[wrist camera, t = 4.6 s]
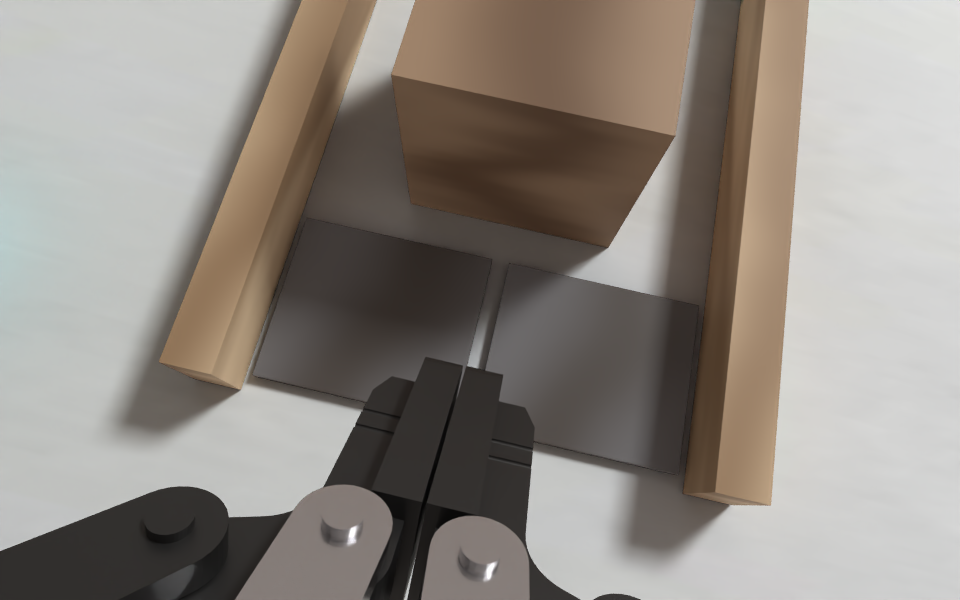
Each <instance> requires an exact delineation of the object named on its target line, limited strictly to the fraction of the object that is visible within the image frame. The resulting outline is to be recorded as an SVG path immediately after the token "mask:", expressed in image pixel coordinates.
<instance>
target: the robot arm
mask: <svg viewBox="0 0 960 600" xmlns="http://www.w3.org/2000/svg"><path fill="white" fill-rule="evenodd" d="M462 370H463V365H459V364H455V363H451V362H446V361H442V360H438V359H434V358H429V357H425V359H424V361H423V364H422V366H421V369H420V371H419V374H418V376H417V378H416V381H410V380H406V379H402V378H398V377H394V376H391V377H390V378H388V379H387V380H386V381H384V382H383V383H381V384H380V385H378V386H377V387H376V388H374V389H373V390H372V392H371V394H370V396H369V398H368V400H367V402H366V404H365V406H364V408H363V412H361V414H360V416H359V418H358V420H357V422H356V425H355V427H354V428H353V430H352V432H351V434H350V436H349V438H348V440H347V442H346V444H345V446H344V448H343V450H342V451H341V453H340V455H339V457H338V459H337V461H336V463H335V465H334V467H333V469H332V471H331V473H330V475H329V477H328V479H327V481H326V483H325V485H324V487H323V488H320V489H318V490H316V491H314V492H312V493H310V494H309V495H307V496H306V497H305V498H303V499H302V500H301V501H300V502H299V503H298V505H297V506H296V507H295V509H294V510H293V511H290V512H287V513H284V514H279V515H274V516H261V517H229V516H228V512H227V509H226V507H225V505H224V503H223V502H222V501H221V500H220V499H219V498H218V497H217V496H215V495H214V494H212V493H210V492H208V491H206V490H203V489H200V488H195V487H170V488H165V489H160V490H157V491H154V492H151V493H148V494H146V495H143V496H141V497H138V498H135V499H133V500H130V501H128V502H125V503H123V504H120V505H118V506H115V507H112V508H110V509H107V510H105V511H102V512H100V513H97V514H95V515H92V516H89V517H87V518H84V519H82V520H79V521H77V522H74V523H71V524H69V525H66V526H64V527H61V528H59V529H56V530H54V531H51V532H48V533H46V534H43V535H41V536H38V537H36V538H33V539H31V540H28V541H25V542H23V543H20V544H18V545H15V546H13V547H10V548H7V549H5V550H2V551H0V600H404V597H405V594H406V590H407V587H408V583H409V579H410V576H411V572H412V569H413V565H414V569H413V574H412V579H411V584H410V589H409V594H408V599H407V600H580V599H578V598H577V597H575V596H573V595H571V594H569V593H568V592H566V591H564V590H562V589H561V588H559V587H558V586H556V585H555V584H553V583H552V582H551V581H550V580H548V579H547V578H546V577H545V576H544V575H543V574H542V573H541V572H540V571H539V569H538V568H537V567H536V565H535V564H534V562H533V561H532V559H531V557H530V555H529V552H528V549H527V545H526V536H525V533H526V522H527V510H528V499H529V488H530V477H531V465H532V454H533V452H532V450H533V443H534V431H535V427H534V425H533V423H532V421H531V418H530V416H529V414H528V412H527V410H526V408H525V407H521V406H517V405H513V404H509V403H504V402H500V401H499V397H500V391H501V386H502V381H503V374H498V373H494V372H490V371H486V370H481V369H477V368H473V367H468V366H466V368H465V372H464V375H463V379H462V382H461V386H460V389H459V385H460V380H461V375H462ZM458 390H459V393H458ZM457 394H458V396H457ZM456 399H457V400H456ZM415 558H416V559H415ZM414 562H415V564H414ZM594 600H640V599H638V598H635V597H632V596H628V595H623V594H606V595H602V596H599V597H597V598H595V599H594Z"/></svg>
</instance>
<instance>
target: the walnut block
mask: <svg viewBox="0 0 960 600" xmlns="http://www.w3.org/2000/svg"><path fill="white" fill-rule="evenodd" d="M694 7H695V0H415V3H414V6H413V9H412V12H411V15H410V18H409V21H408V24H407V28H406V31H405V34H404V37H403V40H402V43H401V46H400V49H399V52H398V55H397V58H396V61H395V64H394V67H393V71H392V74H391V77H392V83H393V90H394V96H395V103H396V109H397V116H398V123H399V129H400V136H401V142H402V149H403V155H404V162H405V169H406V175H407V182H408V188H409V195H410V201H411V204H415V205H419V206H424V207H428V208H433V209H437V210H442V211H446V212H450V213H455V214H459V215H464V216H468V217H473V218H477V219H482V220H486V221H491V222H495V223H500V224H504V225H509V226H513V227H518V228H522V229H527V230H531V231H536V232H540V233H544V234H549V235H553V236H558V237H562V238H567V239H571V240H576V241H580V242H585V243H589V244H594V245H598V246H603V247H607V248H608V247H609V246H610V244H611V242H612V241H613V239H614V237H615V236H616V234H617V232H618V231H619V229H620V227H621V226H622V224H623V222H624V221H625V219H626V217H627V216H628V214H629V212H630V211H631V209H632V207H633V206H634V204H635V202H636V201H637V199H638V197H639V196H640V194H641V192H642V191H643V189H644V187H645V186H646V184H647V182H648V181H649V179H650V177H651V176H652V174H653V172H654V171H655V169H656V167H657V166H658V164H659V162H660V161H661V159H662V157H663V156H664V154H665V152H666V151H667V149H668V147H669V146H670V144H671V142H672V141H673V139H674V137H675V134H676V128H677V121H678V114H679V107H680V101H681V94H682V87H683V80H684V74H685V67H686V60H687V54H688V47H689V40H690V33H691V27H692V20H693V13H694Z"/></svg>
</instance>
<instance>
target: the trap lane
mask: <svg viewBox="0 0 960 600" xmlns="http://www.w3.org/2000/svg"><path fill="white" fill-rule="evenodd" d="M376 1H377V0H302V1H301V4H300V6H299V9H298V11H297V14H296V16H295V19H294V21H293V24H292V26H291V29H290V31H289V34H288V37H287V39H286V42H285V44H284V47H283V49H282V52H281V54H280V57H279V59H278V62H277V64H276V67H275V69H274V72H273V74H272V77H271V79H270V82H269V85H268V87H267V90H266V92H265V95H264V97H263V100H262V102H261V105H260V107H259V110H258V112H257V115H256V117H255V120H254V122H253V125H252V127H251V130H250V133H249V135H248V138H247V140H246V143H245V145H244V148H243V150H242V153H241V155H240V158H239V160H238V163H237V165H236V168H235V170H234V173H233V175H232V178H231V180H230V183H229V186H228V188H227V191H226V193H225V196H224V198H223V201H222V203H221V206H220V208H219V211H218V213H217V216H216V218H215V221H214V223H213V226H212V228H211V231H210V234H209V236H208V239H207V241H206V244H205V246H204V249H203V251H202V254H201V256H200V259H199V261H198V264H197V266H196V269H195V271H194V274H193V276H192V279H191V282H190V284H189V287H188V289H187V292H186V294H185V297H184V299H183V302H182V304H181V307H180V309H179V312H178V314H177V317H176V319H175V322H174V324H173V327H172V329H171V332H170V335H169V337H168V340H167V342H166V345H165V347H164V350H163V352H162V355H161V357H160V360H159V362H160V363H162V364H164V365H166V366H168V367H170V368H172V369H175V370H177V371H179V372H181V373H183V374H185V375H187V376H189V377H191V378H194V379H197V380H201V381H205V382H210V383H214V384H218V385H222V386H227V387H231V388H235V389H239V390H241V388H242V385H243V382H244V379H245V376H246V374H247V371H248V368H249V365H250V362H251V359H252V356H253V353H254V351H255V348H256V345H257V342H258V339H259V336H260V333H261V331H262V328H263V325H264V322H265V319H266V316H267V313H268V310H269V308H270V305H271V302H272V299H273V296H274V293H275V290H276V287H277V285H278V282H279V279H280V276H281V273H282V270H283V267H284V265H285V262H286V259H287V256H288V253H289V250H290V247H291V244H292V242H293V239H294V236H295V233H296V230H297V227H298V224H299V222H300V219H301V216H302V213H303V210H304V207H305V204H306V201H307V199H308V196H309V193H310V190H311V187H312V184H313V181H314V179H315V176H316V173H317V170H318V167H319V164H320V161H321V158H322V156H323V153H324V150H325V147H326V144H327V141H328V138H329V135H330V133H331V130H332V127H333V124H334V121H335V118H336V115H337V113H338V110H339V107H340V104H341V101H342V98H343V95H344V92H345V90H346V87H347V84H348V81H349V78H350V75H351V72H352V70H353V67H354V64H355V61H356V58H357V55H358V52H359V49H360V47H361V44H362V41H363V38H364V35H365V32H366V29H367V27H368V24H369V21H370V18H371V15H372V12H373V9H374V6H375V4H376ZM808 6H809V0H741V5H740V14H739V22H738V31H737V39H736V47H735V56H734V64H733V73H732V81H731V90H730V98H729V107H728V115H727V124H726V132H725V141H724V149H723V158H722V166H721V174H720V183H719V191H718V200H717V208H716V217H715V225H714V234H713V242H712V251H711V259H710V268H709V276H708V284H707V293H706V301H705V310H704V318H703V327H702V335H701V344H700V352H699V361H698V369H697V378H696V386H695V395H694V403H693V411H692V420H691V428H690V437H689V445H688V454H687V462H686V471H685V479H684V488H683V494H687V495H691V496H695V497H699V498H704V499H708V500H712V501H716V502H721V503H725V504H729V505H771V497H772V484H773V471H774V458H775V444H776V431H777V418H778V404H779V391H780V378H781V365H782V351H783V338H784V325H785V311H786V298H787V285H788V271H789V258H790V245H791V232H792V218H793V205H794V192H795V178H796V165H797V152H798V139H799V125H800V112H801V99H802V85H803V72H804V59H805V46H806V32H807V19H808ZM491 262H492V259H489V258H484V257H480V256H475V255H471V254H466V253H462V252H458V251H453V250H449V249H444V248H440V247H435V246H431V245H426V244H422V243H417V242H413V241H409V240H404V239H400V238H395V237H391V236H386V235H382V234H377V233H373V232H368V231H364V230H359V229H355V228H351V227H346V226H342V225H337V224H333V223H328V222H324V221H319V220H315V219H310V218H306V221H305V224H304V227H303V230H302V233H301V236H300V238H299V241H298V244H297V247H296V250H295V253H294V256H293V259H292V262H291V264H290V267H289V270H288V273H287V276H286V279H285V282H284V285H283V288H282V291H281V293H280V296H279V299H278V302H277V305H276V308H275V311H274V314H273V317H272V319H271V322H270V325H269V328H268V331H267V334H266V337H265V340H264V343H263V346H262V348H261V351H260V354H259V357H258V360H257V363H256V366H255V369H254V372H253V374H252V375H254V376H255V377H259V378H264V379H268V380H272V381H276V382H281V383H285V384H289V385H294V386H298V387H302V388H306V389H311V390H315V391H319V392H323V393H328V394H332V395H336V396H341V397H345V398H349V399H353V400H358V401H362V402H367V400H368V398H369V396H370V394H371V392H372V390H373V389H374V388H376V387H377V386H378V385H380V384H381V383H383V382H384V381H386V380H387V379H388V378H390V377H391V376H394V377H398V378H402V379H406V380H410V381H416V378H417V376H418V374H419V371H420V369H421V366H422V364H423V361H424V359H425V357H429V358H434V359H438V360H442V361H446V362H451V363H455V364H459V365H463V370H462V375H461V380H460V385H459V389H460V386H461V382H462V379H463V375H464V372H465V368H466V366H467V364H468V359H469V355H470V351H471V347H472V342H473V338H474V334H475V330H476V326H477V321H478V317H479V313H480V309H481V304H482V300H483V296H484V292H485V288H486V283H487V279H488V275H489V271H490V266H491ZM698 309H699V306H698V305H694V304H689V303H685V302H680V301H676V300H671V299H667V298H663V297H658V296H654V295H649V294H645V293H640V292H636V291H631V290H627V289H622V288H618V287H614V286H609V285H605V284H600V283H596V282H591V281H587V280H582V279H578V278H573V277H569V276H565V275H560V274H556V273H551V272H547V271H542V270H538V269H533V268H529V267H524V266H520V265H515V264H511V263H509V267H508V272H507V276H506V281H505V285H504V289H503V294H502V298H501V303H500V307H499V312H498V316H497V320H496V325H495V329H494V334H493V338H492V342H491V347H490V351H489V356H488V360H487V364H486V369H485V370H486V371H490V372H494V373H498V374H503V381H502V386H501V391H500V397H499V401H500V402H504V403H509V404H513V405H517V406H521V407H525V408H526V410H527V412H528V414H529V416H530V418H531V421H532V423H533V425H534V427H535V431H534V442H537V443H542V444H546V445H550V446H554V447H559V448H563V449H567V450H572V451H576V452H580V453H584V454H589V455H593V456H597V457H601V458H606V459H610V460H614V461H619V462H623V463H627V464H631V465H636V466H640V467H644V468H649V469H653V470H657V471H661V472H666V473H670V474H674V475H677V474H679V466H680V457H681V449H682V441H683V433H684V424H685V416H686V408H687V400H688V391H689V383H690V375H691V367H692V359H693V350H694V342H695V334H696V326H697V317H698ZM458 393H459V390H458ZM457 396H458V394H457ZM456 400H457V399H456Z"/></svg>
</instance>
